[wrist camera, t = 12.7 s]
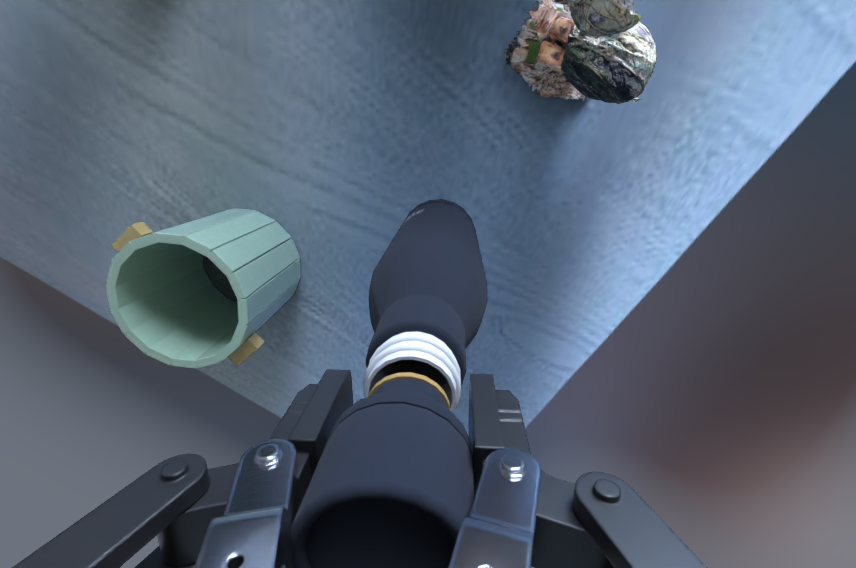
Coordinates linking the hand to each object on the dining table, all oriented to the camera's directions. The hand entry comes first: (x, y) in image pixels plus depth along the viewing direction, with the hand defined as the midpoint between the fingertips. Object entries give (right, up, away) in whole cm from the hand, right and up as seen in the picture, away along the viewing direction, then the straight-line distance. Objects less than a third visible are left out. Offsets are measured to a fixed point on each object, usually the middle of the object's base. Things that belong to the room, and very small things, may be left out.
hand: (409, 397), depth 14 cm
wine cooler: (-19, +6, +33) cm, 38 cm away
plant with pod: (+13, +24, +25) cm, 37 cm away
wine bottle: (+2, +8, +23) cm, 24 cm away
